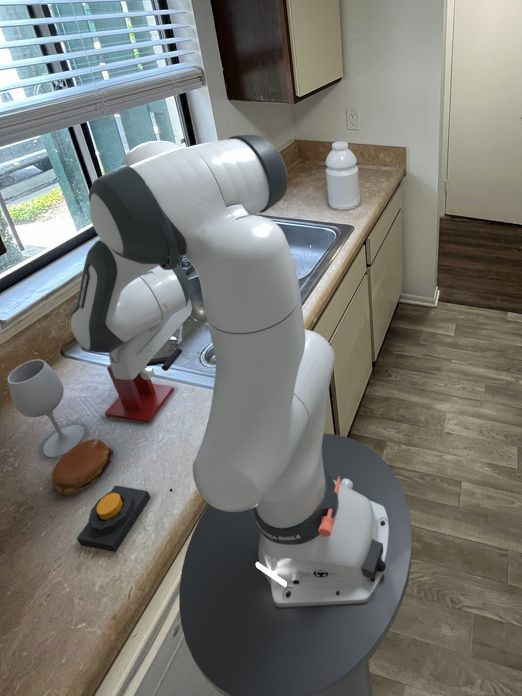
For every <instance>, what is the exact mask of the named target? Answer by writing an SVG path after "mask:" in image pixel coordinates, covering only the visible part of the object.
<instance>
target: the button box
mask: <svg viewBox="0 0 522 696" xmlns="http://www.w3.org/2000/svg"><path fill="white" fill-rule="evenodd" d="M111 493H117V494H119V496H120V498H121V500H122V502H123V504H122V508H121V510H120V511H119V512H118V514H117V515H115V516H114V517H113V518H111V519H108V520H102V519H101V518H100V517H99V515H98V513H97V505H98V503H99V502H100V501H101V499H103V498H104V497H105V496H106V495H108V494H111ZM150 500H151V496H150V493H149V491H148V490H145V489H138V488H132V487H127V486H122V485H116V484H115V485H114V486H113V488H112V489H111V490H110V491H109V492H107V493H106V494H104V495H103V496H102V497H101V498H99V499H97V501H96V503H95V504H94V506H92V508H91V510H90V514H89V517H88V522H87V524H86V525H85V526H84V528H83V529H82V530H81V532H80V533H79V534H78V536H77V537H76V540H77V542H78V543H79V545H80V546H82V547H87V548H90V549H91V548H93V549H97V550H101V551H107V552H112V553H117V551H118V550H119V548H120V547H121V545H122V544H123V542H124V540H125V539H126V537H127V535H128V534H129V532H130V531H131V529H132V528H133V527H134V525H135V523H136V522H137V520H138V519H139V517H140V516H141V514H142V512H143V511H144V509H145V508H146V506H147V504H148V503H149V501H150Z"/></svg>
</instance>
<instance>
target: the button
mask: <svg viewBox="0 0 522 696" xmlns="http://www.w3.org/2000/svg"><path fill="white" fill-rule="evenodd" d="M105 495H106V494H105ZM105 495H104V496H105ZM100 499H101V498H100ZM122 504H123V502H122V500H121V498H120V496H119V494H117V493H111V494H108V495H106V496H105V497H104V498H103V499H101V501H100V502H99V503H98V505H97V513H98V515H99V517H100V518H101V519H102V520H108V519H111V518H113V517H114V516H115V515H117V514H118V512H119V511H120V510H121V508H122Z"/></svg>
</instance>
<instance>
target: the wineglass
mask: <svg viewBox="0 0 522 696" xmlns="http://www.w3.org/2000/svg"><path fill="white" fill-rule="evenodd" d="M7 385H8V389H9V393H10V398H11V400H12V403H13V405H14V407H15V409H16V410H17V411H18V412H19V413H20V414H21V415H23V416H25V417H28V418H39V417H44V416H47V417H48V418H49V421H50V422H51V424H52V426H53V427H54V430H55V432H54V433H53V434H52V435H50V437H49V438H48V439H47V440H46V441H45V443H44V445H43V450H42V451H43V454H44V455H45V456H46V457H48V458H58V457H62V456H63V455H64V454H65V453H67V452H68V451H69V450H70V449H72V448H73V447H75V446H76V445H78V444H80V443H81V441H82V440H83V439H84V435H85V429H84V427H82V426H81V425H79V424H72V425H71V424H70V425H67V426H65V427H63V428H61V426H60V425H59V423H58V422H57V419H56V418H55V416H54V412H53V411H55V410H56V408H57V407H59V405H60V403H61V401H62V399H63V397H64V391H65V389H64V384H63V382H62V380H61V378H60V377H59V375H58V374H57V373H56V371H54V369H53V368H52V367H51V366H50V365H49V364H48V363H47V362H46V361H45V360H43V359H32V360H28V361H26V362H24V363H22V364H20V365H18V366H17V367H15V368H14V369H13V370H12V371H11V372H10V373H9V374H8V376H7Z"/></svg>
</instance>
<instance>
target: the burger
mask: <svg viewBox="0 0 522 696" xmlns="http://www.w3.org/2000/svg"><path fill="white" fill-rule="evenodd" d="M113 455H114V450H113V449H112V447H110V446H109V445H107V444H106V443H105V442H104V441H102V440H101V439H96V438H92V439H87V440H84V441H82V442H80V443H79V444H78V445H76V446H75V447H73V448H72V449H70V450H69V451H68V452H67V453H65V454H64V455H61V456H60V459H59V460H58V461H57V462H56V463H55V465H54V468H53V470H52V473H51V481H52V484H53V485H54V488H55V490H56V491H57V492H58V493H59V494H61V495H66V496H67V495H68V496H72V495H73V496H74V495H75V494H78V493H80V492H81V491H83V490H84V489H86V488H88V487H90V486H91V485H92V484H93V483H95V482H96V481H98V480H99V479H100V478H101V477H102V476H103V474H104V473H105V472H106V471H107V469H108V467H109V466H110V464H111V463H112V457H113Z"/></svg>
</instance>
